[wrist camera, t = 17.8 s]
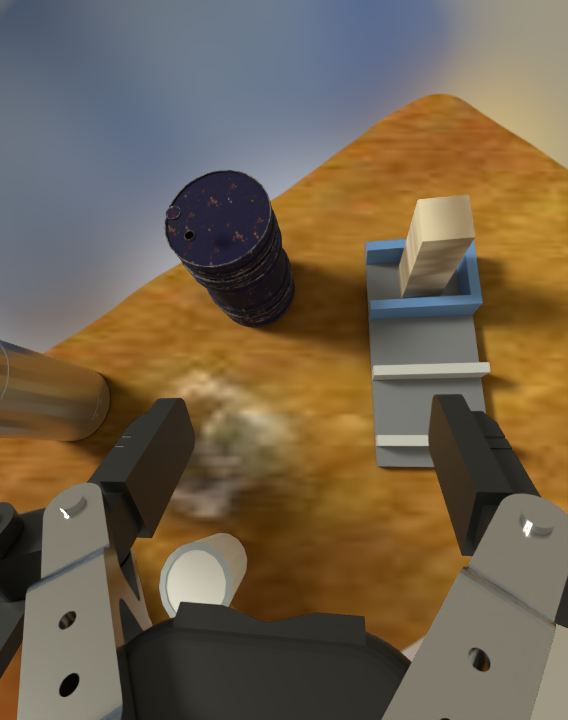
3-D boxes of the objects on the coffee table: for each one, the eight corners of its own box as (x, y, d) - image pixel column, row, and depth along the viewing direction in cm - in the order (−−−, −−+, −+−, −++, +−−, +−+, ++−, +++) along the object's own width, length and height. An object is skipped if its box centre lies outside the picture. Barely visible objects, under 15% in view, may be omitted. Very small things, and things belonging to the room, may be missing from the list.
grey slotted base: (376, 465, 38) (379, 467, 34) (364, 247, 44) (366, 226, 40) (488, 467, 36) (506, 469, 32) (458, 239, 42) (470, 217, 38)
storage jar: (269, 242, 47) (224, 119, 29) (311, 297, 44) (289, 197, 27) (206, 285, 47) (125, 187, 29) (244, 343, 44) (178, 272, 26)
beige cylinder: (202, 518, 39) (172, 531, 33) (260, 538, 38) (242, 556, 31) (182, 585, 38) (147, 613, 31) (242, 608, 36) (219, 643, 30)
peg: (400, 301, 40) (422, 241, 29) (397, 269, 41) (417, 199, 30) (437, 299, 40) (475, 237, 28) (434, 267, 41) (468, 194, 29)
